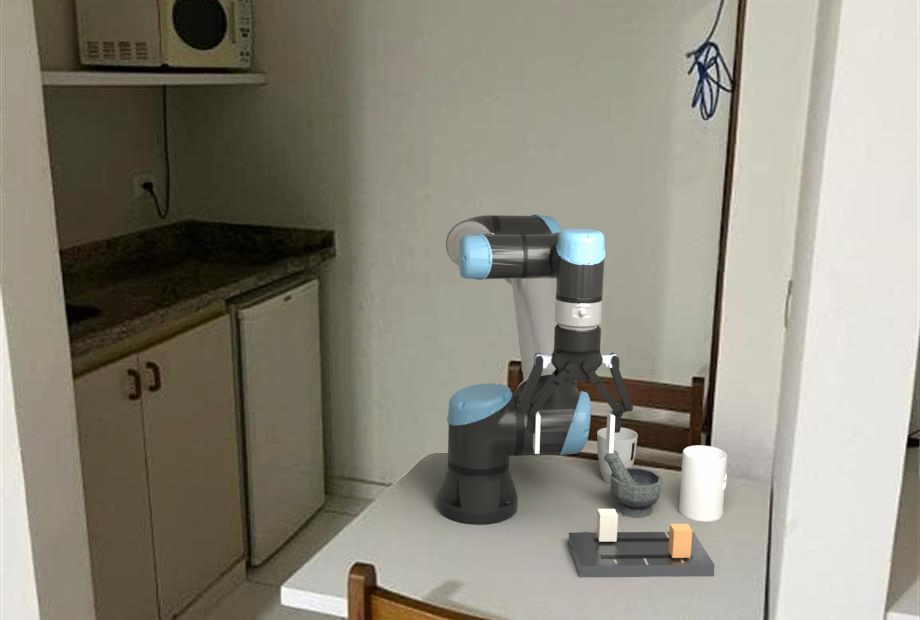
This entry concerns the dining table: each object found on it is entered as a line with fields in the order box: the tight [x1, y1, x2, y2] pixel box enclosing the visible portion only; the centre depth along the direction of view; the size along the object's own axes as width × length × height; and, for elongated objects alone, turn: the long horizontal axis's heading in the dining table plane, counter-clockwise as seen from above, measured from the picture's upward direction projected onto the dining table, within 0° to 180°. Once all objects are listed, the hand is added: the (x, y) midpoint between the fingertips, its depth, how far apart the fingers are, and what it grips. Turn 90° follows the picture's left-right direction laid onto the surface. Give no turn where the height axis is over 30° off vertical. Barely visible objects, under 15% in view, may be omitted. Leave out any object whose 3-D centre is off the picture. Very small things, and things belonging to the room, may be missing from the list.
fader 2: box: [668, 523, 693, 558], centre depth 152 cm, size 3×3×5 cm
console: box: [568, 531, 715, 578], centre depth 156 cm, size 22×12×2 cm, turn 92°
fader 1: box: [596, 508, 619, 542], centre depth 158 cm, size 3×3×5 cm
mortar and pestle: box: [604, 451, 664, 519], centre depth 173 cm, size 11×9×12 cm
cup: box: [596, 427, 639, 485], centre depth 188 cm, size 8×8×10 cm
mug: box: [678, 444, 728, 523], centre depth 175 cm, size 8×12×12 cm
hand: (572, 450), depth 155 cm, fingers open, 12 cm apart
